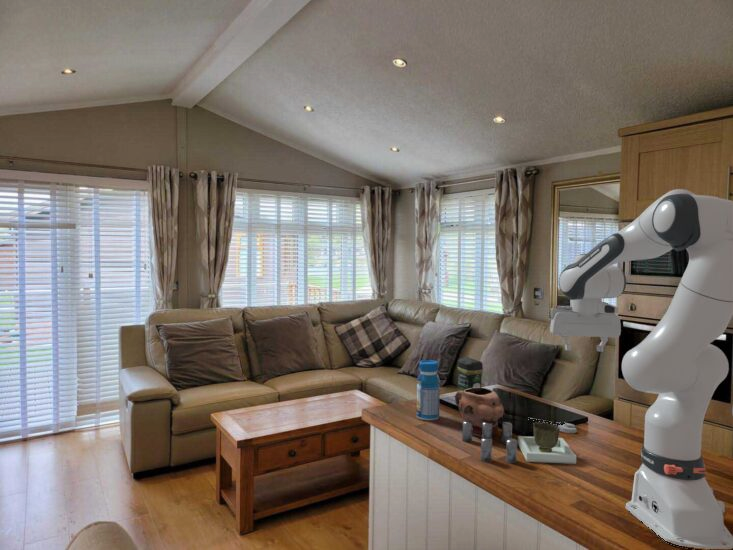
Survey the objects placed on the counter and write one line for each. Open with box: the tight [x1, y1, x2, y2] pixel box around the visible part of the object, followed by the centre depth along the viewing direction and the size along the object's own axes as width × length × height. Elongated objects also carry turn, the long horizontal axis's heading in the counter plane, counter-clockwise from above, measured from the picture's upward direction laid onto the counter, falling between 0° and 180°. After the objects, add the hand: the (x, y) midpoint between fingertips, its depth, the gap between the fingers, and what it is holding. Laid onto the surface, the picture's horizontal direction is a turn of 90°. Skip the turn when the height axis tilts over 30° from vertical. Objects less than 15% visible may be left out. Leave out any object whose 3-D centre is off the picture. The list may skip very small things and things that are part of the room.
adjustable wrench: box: [528, 417, 577, 434], centre depth 174 cm, size 25×6×2 cm, turn 50°
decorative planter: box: [454, 387, 505, 437], centre depth 165 cm, size 20×12×14 cm, turn 41°
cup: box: [532, 420, 560, 453], centre depth 147 cm, size 8×7×8 cm
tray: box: [517, 435, 577, 465], centre depth 148 cm, size 13×13×2 cm
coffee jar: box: [457, 356, 484, 402], centre depth 192 cm, size 10×8×19 cm
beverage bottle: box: [415, 359, 441, 421], centre depth 179 cm, size 8×8×20 cm
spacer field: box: [462, 420, 518, 464], centre depth 149 cm, size 17×15×6 cm
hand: (584, 350), depth 155 cm, fingers open, 8 cm apart
